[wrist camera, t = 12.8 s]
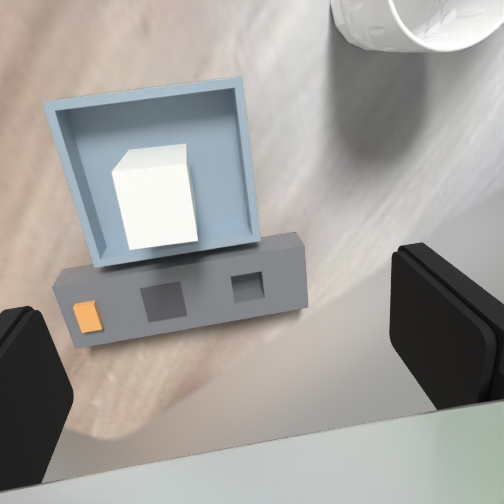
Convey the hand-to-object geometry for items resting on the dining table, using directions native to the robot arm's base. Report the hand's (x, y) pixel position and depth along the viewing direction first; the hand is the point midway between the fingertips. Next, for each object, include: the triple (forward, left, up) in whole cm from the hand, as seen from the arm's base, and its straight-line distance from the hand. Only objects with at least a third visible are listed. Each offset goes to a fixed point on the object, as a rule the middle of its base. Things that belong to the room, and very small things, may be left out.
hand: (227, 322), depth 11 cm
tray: (+3, 0, -23) cm, 23 cm away
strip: (+3, +10, -23) cm, 25 cm away
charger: (+3, 0, -22) cm, 23 cm away
